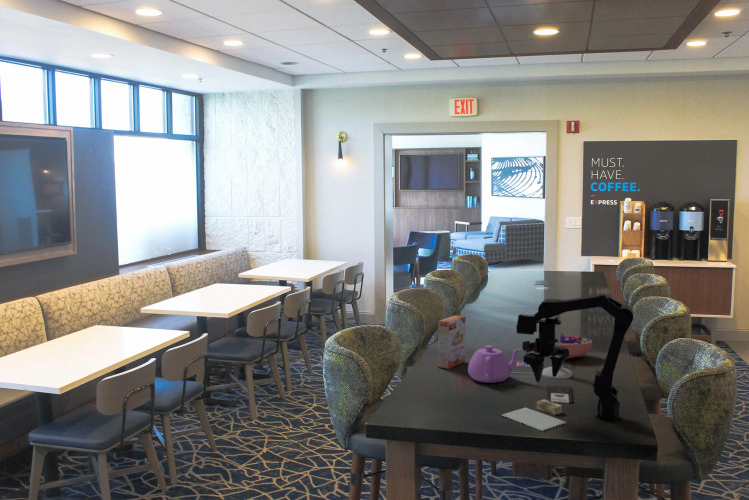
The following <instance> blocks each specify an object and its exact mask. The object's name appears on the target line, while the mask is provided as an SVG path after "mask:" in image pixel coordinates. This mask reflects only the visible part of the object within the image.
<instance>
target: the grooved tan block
mask: <svg viewBox="0 0 749 500" xmlns="http://www.w3.org/2000/svg"><path fill="white" fill-rule="evenodd" d="M536 409H537V410H538V409H539V410H538V411H541V410H542V411H541V412H544V411H545V412H544V413H546V412H548V413H547V414H549V413H550V415H552V414H553V415H552V416H556V414H557V415H560V414H562V413H563V405H562V404H561V403H554V402H551V401H548V400H547V399H541V400H537V401H536Z"/></svg>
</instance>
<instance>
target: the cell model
mask: <svg viewBox="0 0 749 500" xmlns="http://www.w3.org/2000/svg"><path fill="white" fill-rule="evenodd" d="M592 343H593V341H592V339H589V338H586V337H581V336H578V335H576V336H575V335H567V334H566V335H565V334H564V333H563V332H562V333H561V332H560V347H564V348H567V349H568V350H569V356H568V357H567V359H566V360H568V359H574V358H581V357H584V356H585V355H587V354H588V353H589V352H590V351H591V349H592Z"/></svg>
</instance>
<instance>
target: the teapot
mask: <svg viewBox="0 0 749 500" xmlns="http://www.w3.org/2000/svg"><path fill="white" fill-rule="evenodd" d="M521 350H523V349H522V347H521V348H516V349H514V350H513V351H512V355H511V356H512V357H511V360H510V361H508V359H507V357H506V356H505V354H504V352H503V351H502V350H501V349H499V348H495V347H494V346H493V345H490V344H488V345H484V348H483V347H481V348H479V349H477V350H476V351H475V352H474V354H473V355H472V357H471V358H470V360H469V363H468V365H467V367H468V368H467V373H468V375H469V376H470V378H471V379H472V380H474V381H476V382H479V383H486V384H487V383H490V384H493V383H496V382H498V383H501V382H505V381H506V380H507V379H508V378H509V377H510V375H511V372H513V371H514V370H515V368H516V366H517V362H518V361H517V357H518V354H519V352H520V351H521ZM496 384H497V383H496Z"/></svg>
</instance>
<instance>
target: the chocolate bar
mask: <svg viewBox="0 0 749 500" xmlns="http://www.w3.org/2000/svg"><path fill="white" fill-rule="evenodd" d="M546 387H547V388H546V389H547V391H546V393H547V394H546V395H547V396H546V397H547V398H546V400H548V401H551V402H555V403H557V404H572V405H573V404H574V402H573V394H572V393H573V392H572V387H571V386H562V385H560V386H559V385H547V386H546Z"/></svg>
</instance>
